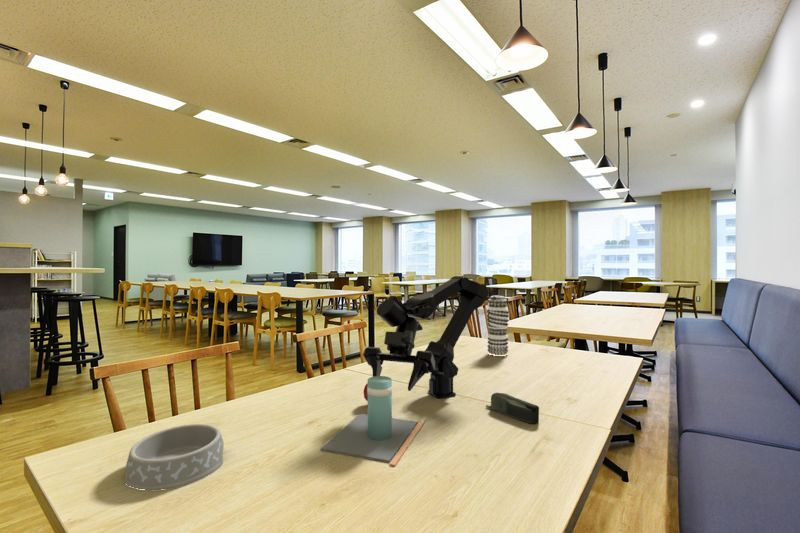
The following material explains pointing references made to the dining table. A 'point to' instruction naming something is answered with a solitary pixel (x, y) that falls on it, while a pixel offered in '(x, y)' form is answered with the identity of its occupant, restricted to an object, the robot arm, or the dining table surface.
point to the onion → (366, 392)
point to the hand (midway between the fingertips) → (391, 388)
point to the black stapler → (515, 408)
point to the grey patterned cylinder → (497, 325)
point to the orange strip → (406, 444)
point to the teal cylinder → (379, 408)
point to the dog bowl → (174, 457)
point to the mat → (360, 445)
